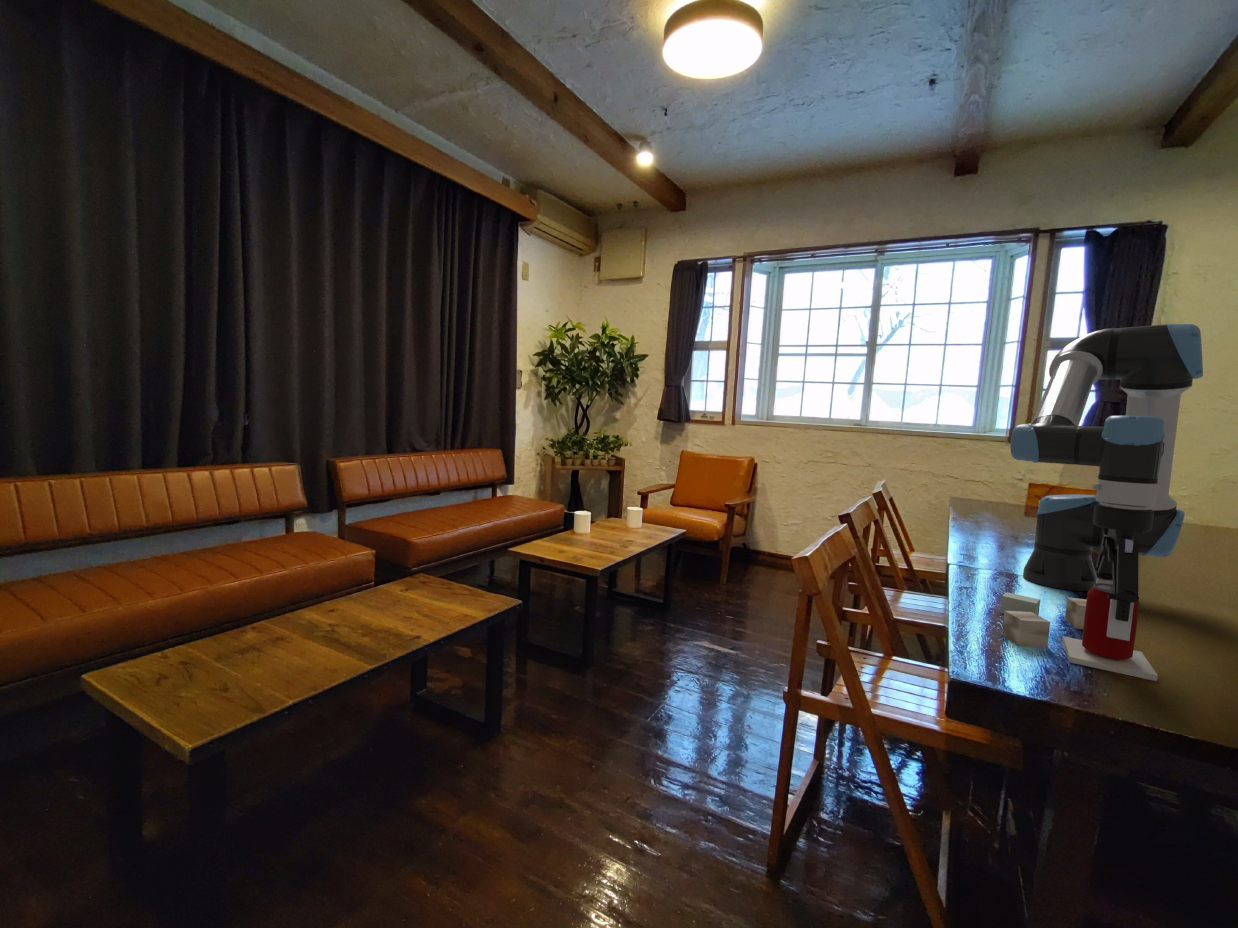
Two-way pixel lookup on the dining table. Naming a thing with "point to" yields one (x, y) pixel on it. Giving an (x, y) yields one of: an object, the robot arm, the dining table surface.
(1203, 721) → the dining table surface
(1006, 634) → the maple block
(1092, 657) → the plate
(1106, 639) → the beverage can
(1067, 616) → the beech block
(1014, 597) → the sage block
